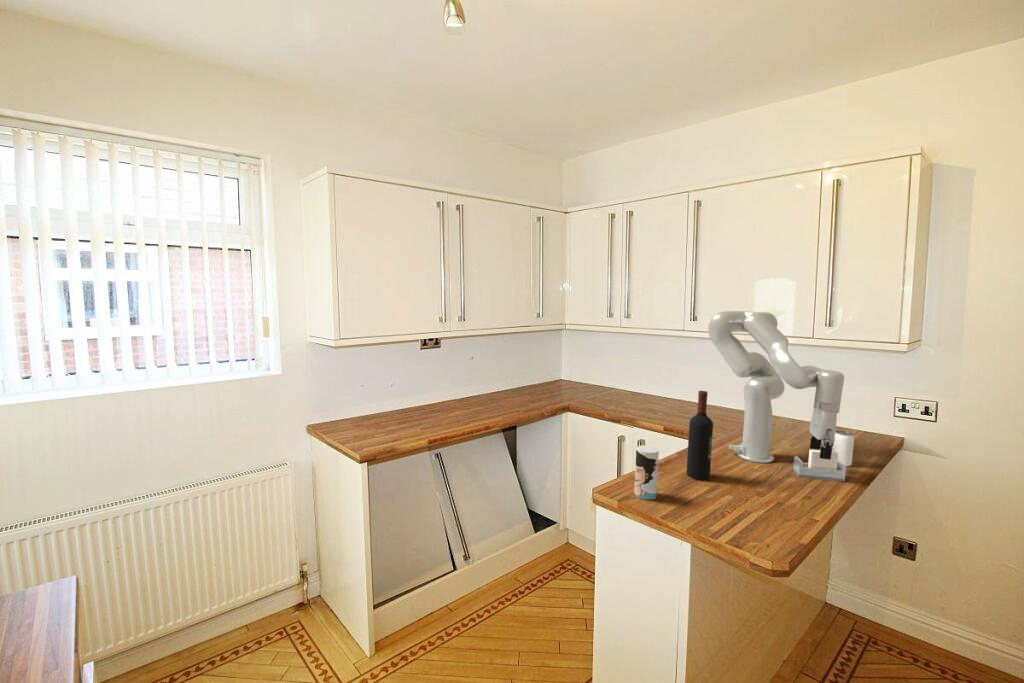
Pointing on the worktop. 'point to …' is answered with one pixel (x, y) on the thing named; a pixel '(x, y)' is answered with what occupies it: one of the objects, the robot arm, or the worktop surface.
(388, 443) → the worktop surface
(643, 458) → the cup
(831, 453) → the robot arm
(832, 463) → the plain white block
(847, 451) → the can
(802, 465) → the track
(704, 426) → the wine bottle
